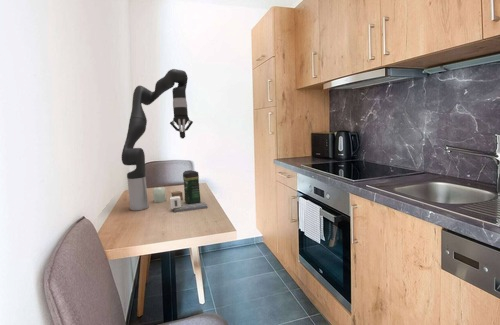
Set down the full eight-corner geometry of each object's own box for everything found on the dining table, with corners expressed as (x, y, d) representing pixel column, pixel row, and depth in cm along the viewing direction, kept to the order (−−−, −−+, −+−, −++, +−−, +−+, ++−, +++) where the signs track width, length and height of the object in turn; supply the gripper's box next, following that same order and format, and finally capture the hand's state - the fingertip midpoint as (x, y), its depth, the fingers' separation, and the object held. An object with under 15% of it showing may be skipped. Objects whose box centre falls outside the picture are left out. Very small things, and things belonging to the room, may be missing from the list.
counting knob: (170, 206, 151) (169, 197, 150) (180, 205, 152) (179, 195, 152) (171, 208, 145) (170, 199, 145) (181, 207, 147) (180, 198, 146)
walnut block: (172, 200, 172) (171, 192, 172) (180, 198, 175) (179, 190, 174) (174, 201, 168) (174, 193, 168) (182, 200, 171) (182, 192, 170)
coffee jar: (202, 202, 163) (200, 170, 161) (189, 205, 158) (187, 172, 156) (195, 199, 171) (193, 168, 169) (183, 201, 166) (180, 170, 164)
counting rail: (173, 208, 153) (173, 205, 152) (204, 204, 158) (204, 201, 158) (174, 212, 145) (174, 209, 145) (207, 207, 150) (207, 205, 150)
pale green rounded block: (153, 200, 174) (152, 187, 173) (165, 199, 176) (164, 186, 175) (153, 203, 167) (152, 189, 166) (166, 201, 169) (165, 188, 168)
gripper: (191, 107, 162) (193, 137, 164) (167, 107, 158) (170, 139, 160) (193, 106, 155) (195, 137, 157) (168, 106, 151) (170, 139, 153)
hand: (182, 138), depth 159 cm, fingers closed
